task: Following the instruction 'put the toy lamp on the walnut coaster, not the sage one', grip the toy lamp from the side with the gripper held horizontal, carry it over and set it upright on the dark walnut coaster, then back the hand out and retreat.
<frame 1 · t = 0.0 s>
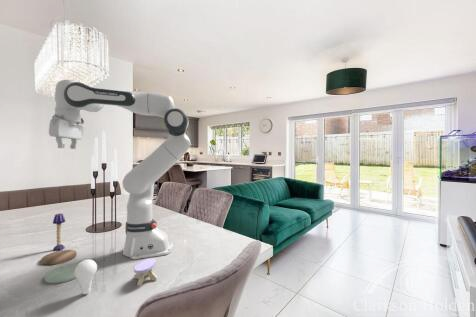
hand: (67, 148, 99), 48 cm above the table, tool pointing down, fingers open, 8 cm apart
toy table: (145, 279, 81), on the table
lightbulb: (85, 294, 72), on the table
sage coaster: (65, 274, 83), on the table
toy lamp: (59, 249, 106), on the table
walnut coaster: (59, 258, 96), on the table
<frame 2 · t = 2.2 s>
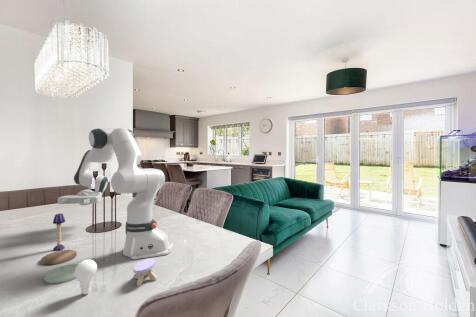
hand: (72, 202, 118), 20 cm above the table, tool horizontal, fingers open, 8 cm apart
nothing on the table moved.
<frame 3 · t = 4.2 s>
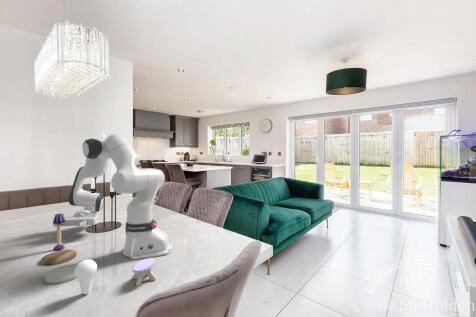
hand: (68, 225, 113), 9 cm above the table, tool horizontal, fingers open, 8 cm apart
nothing on the table moved.
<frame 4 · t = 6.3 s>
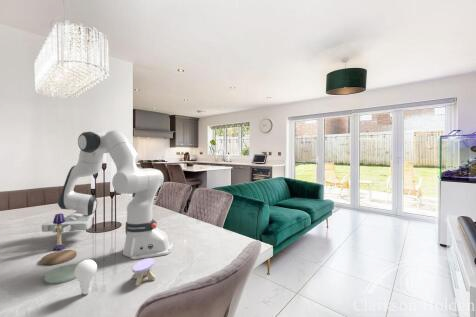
hand: (58, 230, 105), 9 cm above the table, tool horizontal, fingers closed on toy lamp, 2 cm apart
toy lamp: (59, 249, 106), on the table, touching gripper
everything else where it was.
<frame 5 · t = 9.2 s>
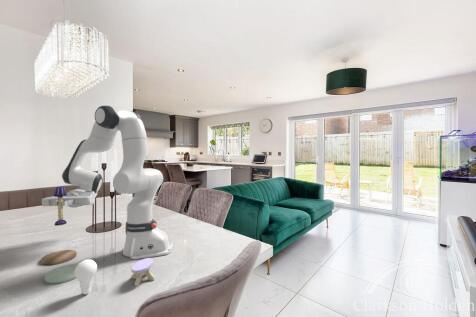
hand: (59, 203, 98), 23 cm above the table, tool horizontal, fingers closed on toy lamp
toy lamp: (60, 224, 99), point 14 cm above the table, touching gripper
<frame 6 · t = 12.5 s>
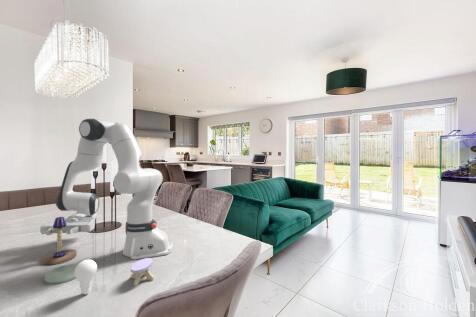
hand: (58, 232, 95), 11 cm above the table, tool horizontal, fingers open, 6 cm apart
toy lamp: (59, 256, 96), point 1 cm above the table, touching walnut coaster
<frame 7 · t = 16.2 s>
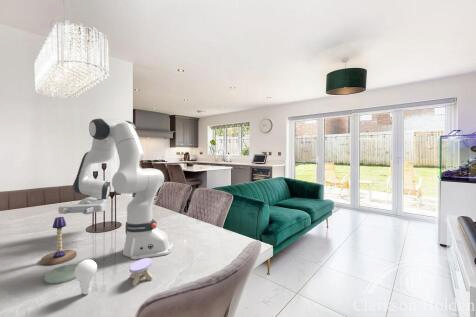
hand: (74, 211, 108), 17 cm above the table, tool horizontal, fingers open, 8 cm apart
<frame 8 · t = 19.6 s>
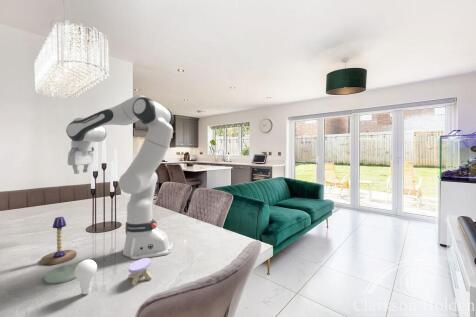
hand: (81, 173, 122), 35 cm above the table, tool pointing down, fingers open, 8 cm apart
at the end: toy lamp 0.0 cm off-centre on the walnut coaster, point 1.0 cm above the walnut coaster's base; toy lamp tilted 0°; the gripper is holding nothing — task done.
